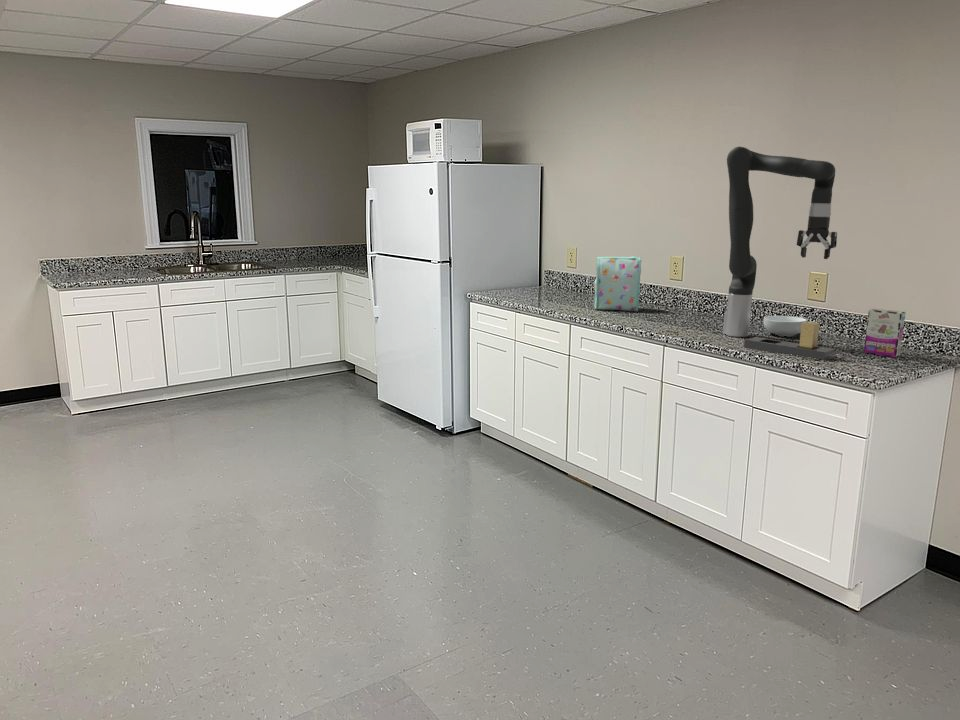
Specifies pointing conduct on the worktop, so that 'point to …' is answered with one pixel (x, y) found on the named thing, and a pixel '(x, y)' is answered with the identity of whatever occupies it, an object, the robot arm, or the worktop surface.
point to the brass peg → (809, 335)
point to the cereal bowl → (783, 325)
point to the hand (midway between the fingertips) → (814, 258)
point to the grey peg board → (788, 348)
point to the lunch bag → (617, 283)
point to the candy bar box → (884, 332)
